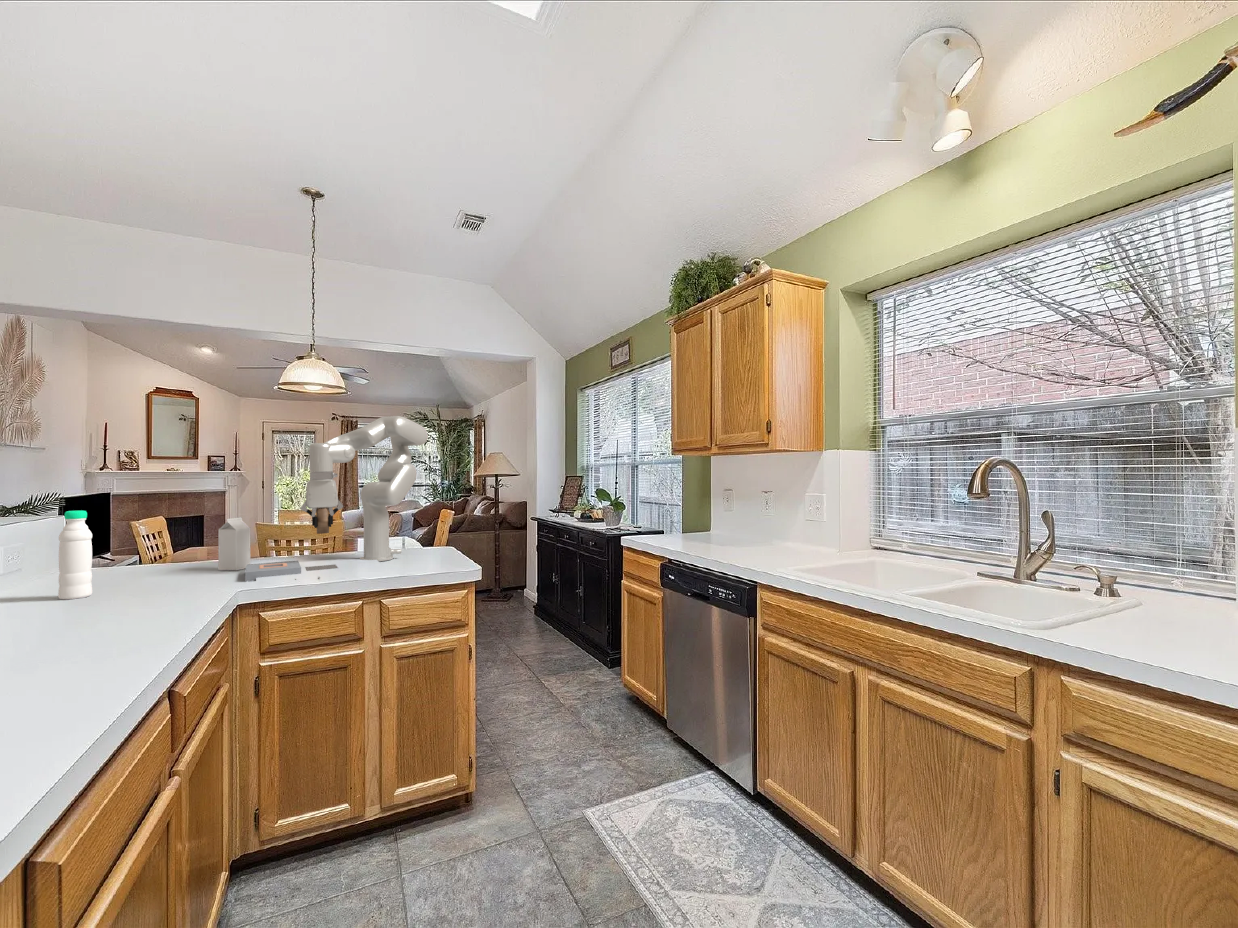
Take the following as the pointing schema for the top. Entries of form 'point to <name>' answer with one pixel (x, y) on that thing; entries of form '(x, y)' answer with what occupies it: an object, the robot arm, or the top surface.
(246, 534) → the milk carton
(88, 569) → the milk bottle
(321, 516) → the peg
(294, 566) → the hole plate
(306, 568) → the tongue
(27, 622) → the top surface
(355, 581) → the top surface
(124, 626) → the top surface
